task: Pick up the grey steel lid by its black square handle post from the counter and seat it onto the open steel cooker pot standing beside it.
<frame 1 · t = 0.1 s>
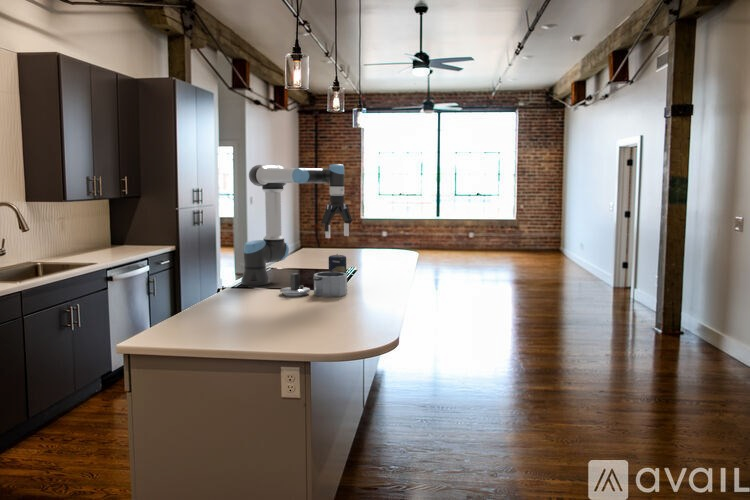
hand: (337, 237, 308), 28 cm above the table, fingers open, 13 cm apart
cooker pot: (330, 294, 303), on the table
canister: (337, 287, 321), on the table
lid: (295, 294, 302), on the table
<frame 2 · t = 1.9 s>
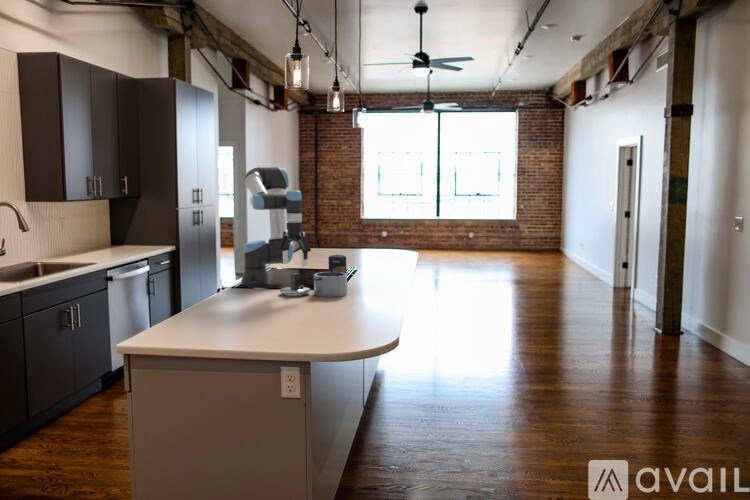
hand: (294, 264, 300), 15 cm above the table, fingers open, 13 cm apart
nothing on the table moved.
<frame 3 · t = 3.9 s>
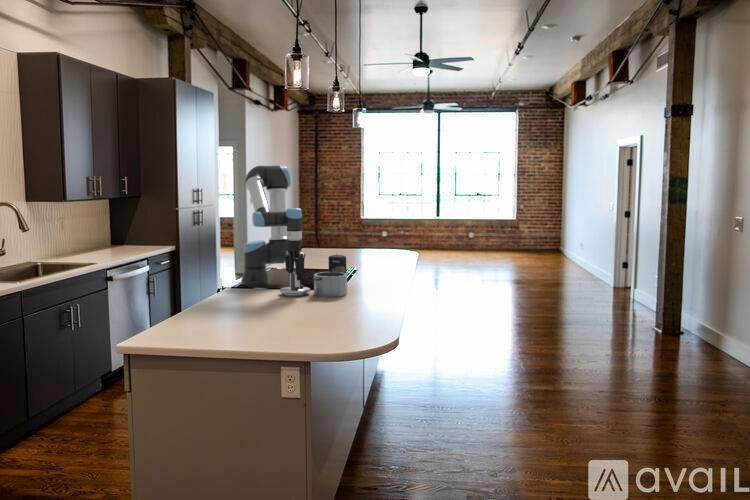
hand: (295, 286, 301), 4 cm above the table, fingers closed on lid, 3 cm apart
lid: (295, 294, 302), on the table, touching gripper
everything else where it was.
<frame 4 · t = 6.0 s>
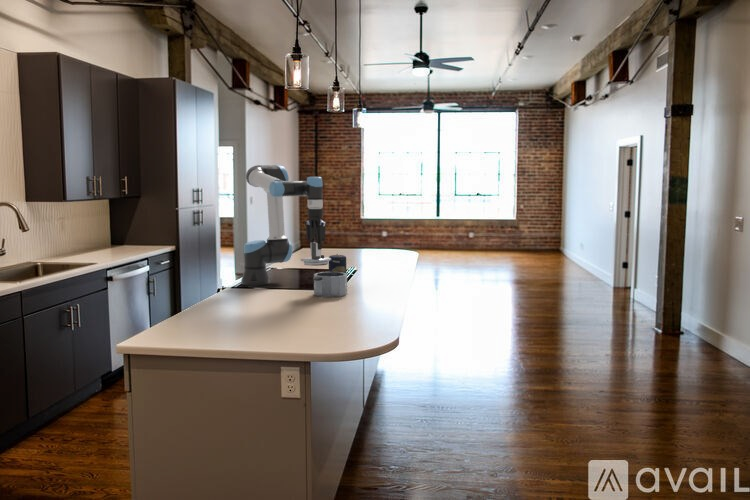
hand: (315, 255, 299), 19 cm above the table, fingers closed on lid, 3 cm apart
lid: (315, 264, 300), point 15 cm above the table, touching gripper
everything else where it was.
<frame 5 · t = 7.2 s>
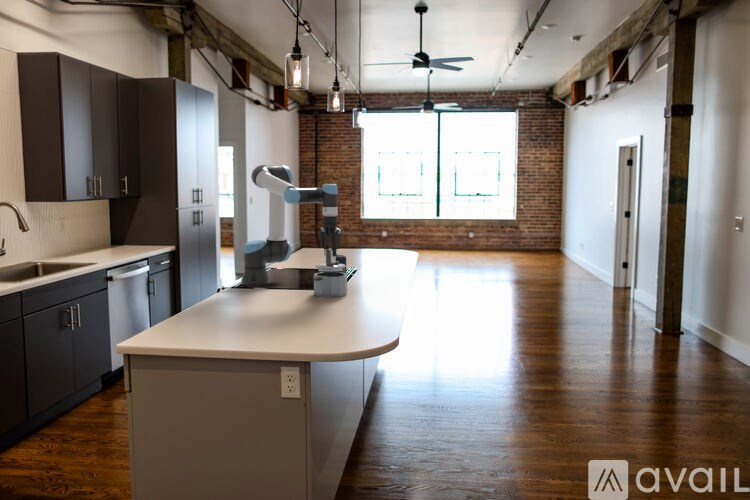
hand: (330, 262, 301), 16 cm above the table, fingers closed on lid, 3 cm apart
lid: (330, 270, 301), point 12 cm above the table, touching gripper
everything else where it was.
when the fingers open (14 cm above the table, at t = 8.2 s): lid drops 2 cm, resting on cooker pot.
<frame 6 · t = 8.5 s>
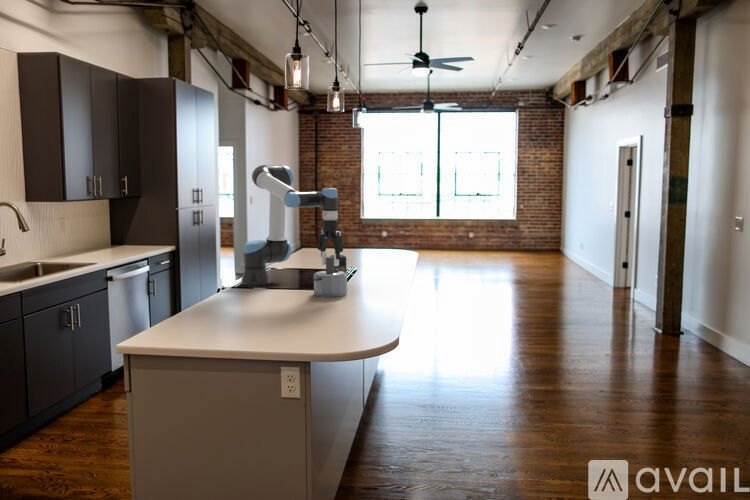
hand: (330, 265, 301), 15 cm above the table, fingers open, 8 cm apart
lid: (330, 278, 302), point 8 cm above the table, touching cooker pot
everything else where it was.
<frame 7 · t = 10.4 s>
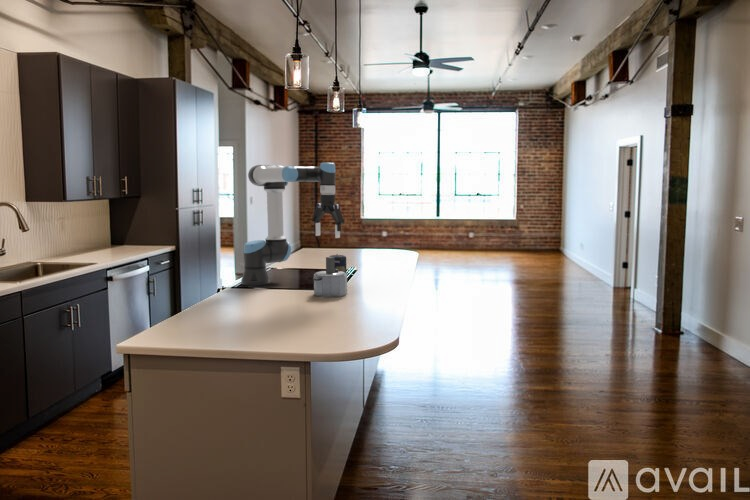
hand: (327, 236, 302), 29 cm above the table, fingers open, 13 cm apart
nothing on the table moved.
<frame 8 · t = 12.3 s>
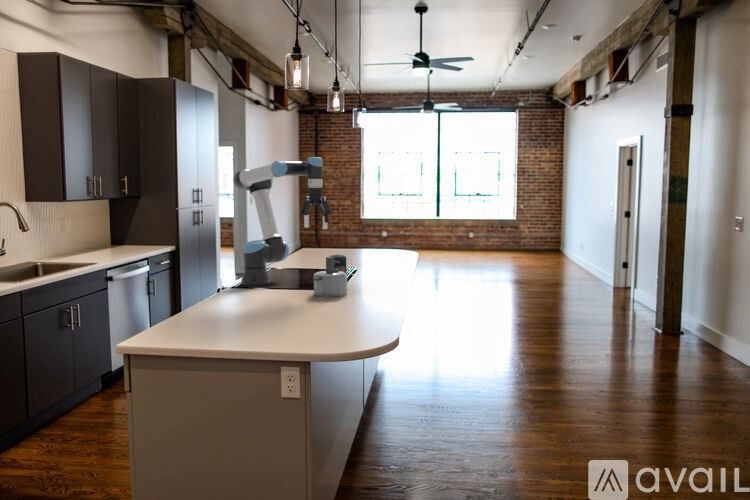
hand: (315, 228, 315), 32 cm above the table, fingers open, 13 cm apart
nothing on the table moved.
at the end: lid 0.1 cm off-centre on the cooker pot, point 8.0 cm above the cooker pot's base; lid tilted 0°; the gripper is holding nothing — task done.
